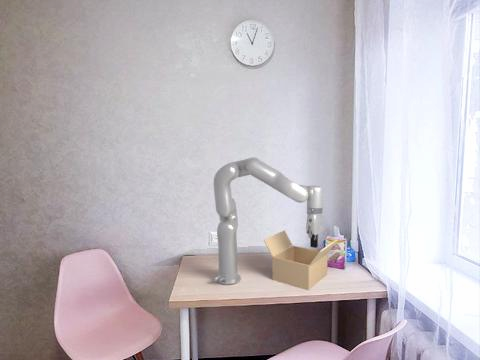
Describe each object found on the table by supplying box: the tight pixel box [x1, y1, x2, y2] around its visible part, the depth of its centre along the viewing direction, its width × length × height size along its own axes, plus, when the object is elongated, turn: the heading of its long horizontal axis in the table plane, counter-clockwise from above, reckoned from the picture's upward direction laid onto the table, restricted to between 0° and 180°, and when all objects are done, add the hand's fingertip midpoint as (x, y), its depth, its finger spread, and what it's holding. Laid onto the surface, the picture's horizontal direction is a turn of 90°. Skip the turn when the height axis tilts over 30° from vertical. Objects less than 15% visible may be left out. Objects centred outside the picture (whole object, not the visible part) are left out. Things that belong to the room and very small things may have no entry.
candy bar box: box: [324, 235, 348, 270], centre depth 173 cm, size 11×5×16 cm, turn 59°
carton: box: [271, 245, 328, 291], centre depth 160 cm, size 22×20×12 cm
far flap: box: [263, 230, 294, 257], centre depth 167 cm, size 21×10×1 cm
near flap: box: [310, 240, 338, 266], centre depth 151 cm, size 21×10×1 cm
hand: (314, 246), depth 154 cm, fingers closed
